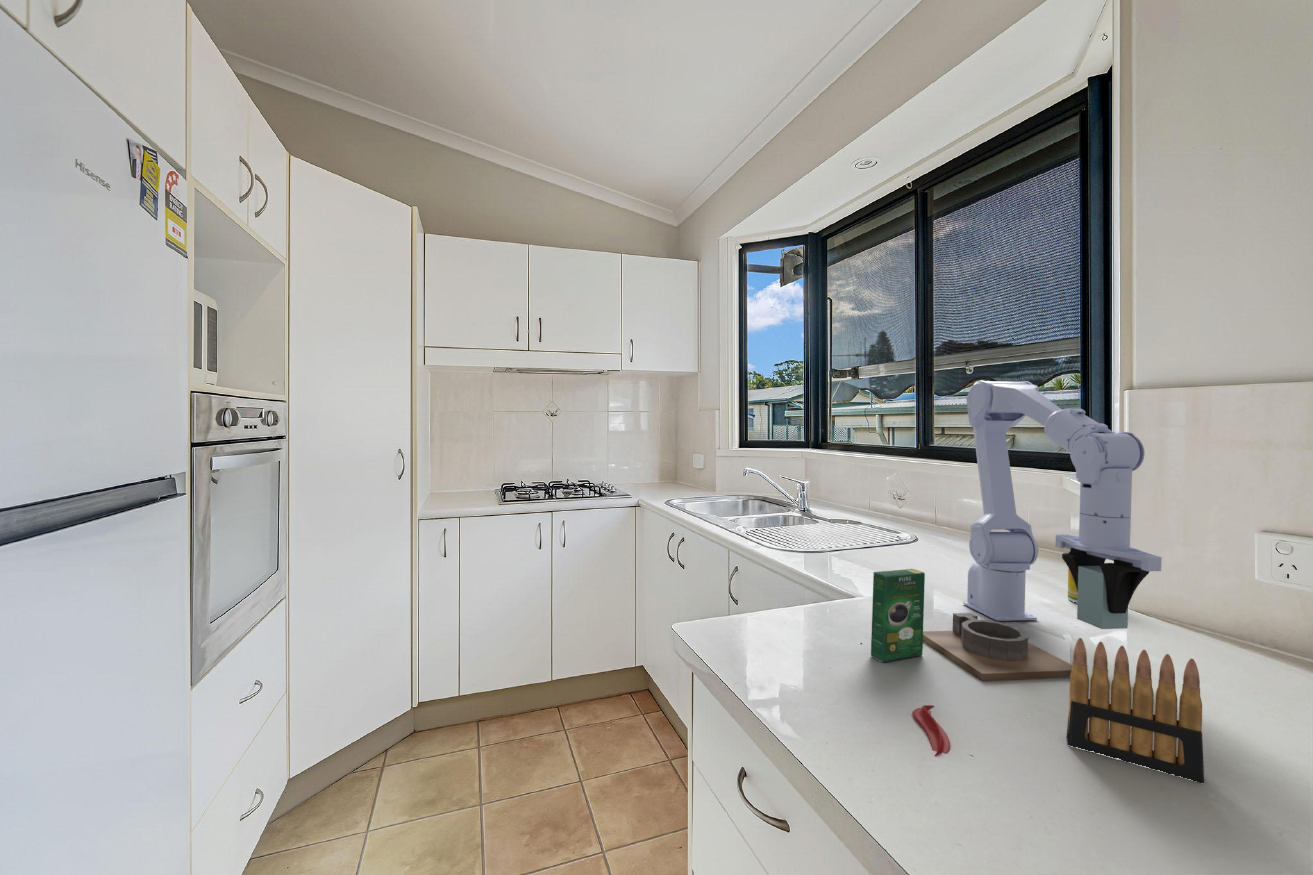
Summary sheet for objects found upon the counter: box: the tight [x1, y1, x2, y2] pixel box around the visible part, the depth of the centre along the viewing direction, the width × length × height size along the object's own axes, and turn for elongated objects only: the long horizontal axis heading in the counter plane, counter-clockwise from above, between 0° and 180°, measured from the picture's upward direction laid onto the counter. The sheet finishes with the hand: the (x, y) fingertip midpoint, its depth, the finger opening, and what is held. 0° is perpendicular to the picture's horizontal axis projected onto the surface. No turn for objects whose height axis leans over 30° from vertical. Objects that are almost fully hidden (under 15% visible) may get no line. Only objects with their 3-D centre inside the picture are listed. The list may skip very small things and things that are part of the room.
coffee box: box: [870, 568, 926, 663], centre depth 80 cm, size 8×3×13 cm, turn 110°
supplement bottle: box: [1067, 567, 1078, 604], centre depth 106 cm, size 5×5×10 cm
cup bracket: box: [923, 612, 1072, 682], centre depth 81 cm, size 15×15×4 cm
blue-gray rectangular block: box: [1076, 566, 1129, 630], centre depth 77 cm, size 4×4×8 cm
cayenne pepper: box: [912, 704, 951, 757], centre depth 61 cm, size 12×5×2 cm, turn 145°
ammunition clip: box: [1066, 637, 1205, 785], centre depth 56 cm, size 11×2×12 cm, turn 55°
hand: (1102, 607), depth 77 cm, fingers closed on blue-gray rectangular block, 4 cm apart
